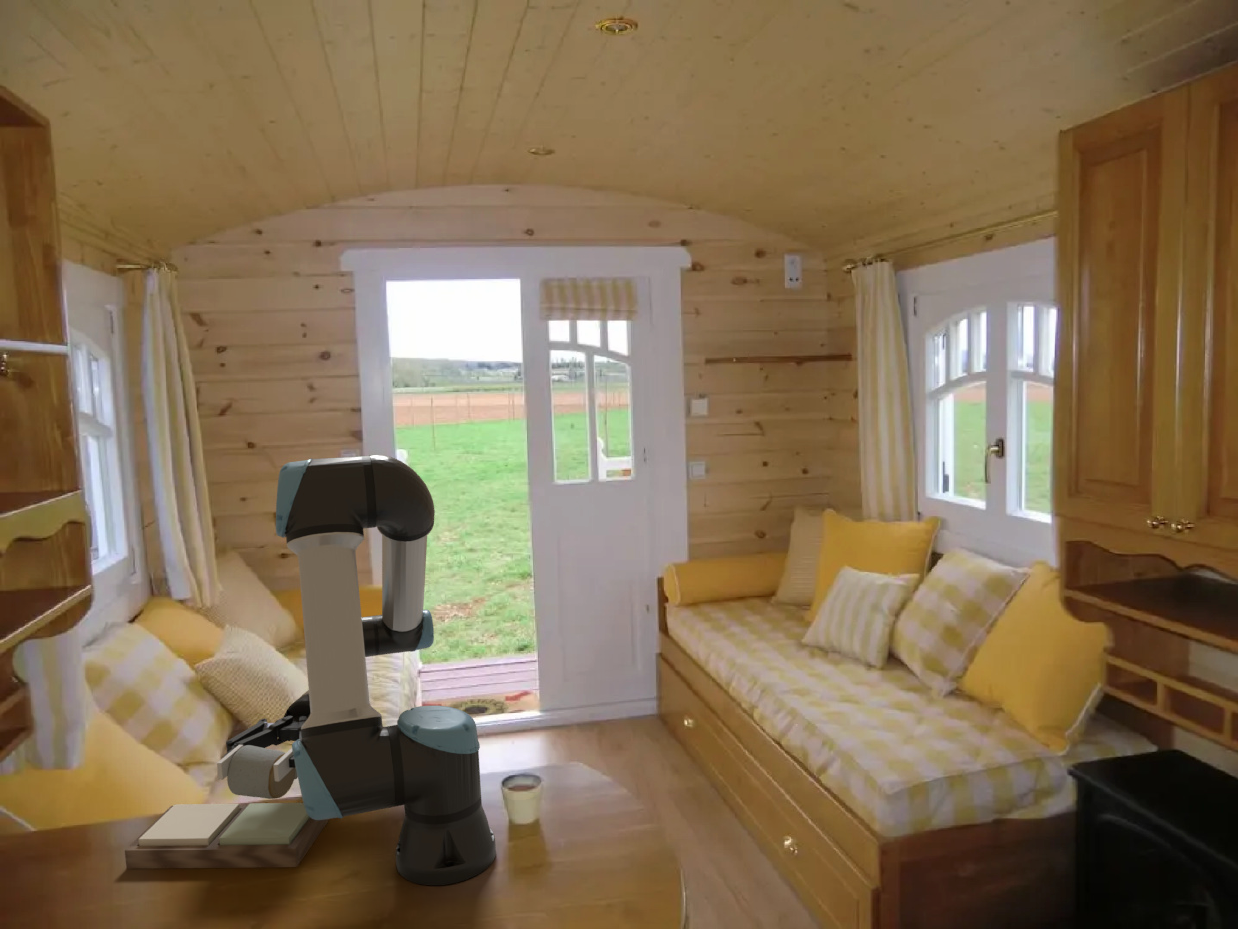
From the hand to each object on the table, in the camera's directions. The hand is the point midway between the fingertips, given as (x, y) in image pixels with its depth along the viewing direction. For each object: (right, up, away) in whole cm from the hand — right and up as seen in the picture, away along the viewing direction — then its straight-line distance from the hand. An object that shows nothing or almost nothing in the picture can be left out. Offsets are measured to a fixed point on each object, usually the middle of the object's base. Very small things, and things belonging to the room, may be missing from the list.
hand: (248, 772), depth 145 cm
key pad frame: (-5, -14, +7) cm, 16 cm away
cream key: (-12, -13, +7) cm, 18 cm away
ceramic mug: (+1, -5, +7) cm, 8 cm away
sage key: (+1, -12, +6) cm, 14 cm away
